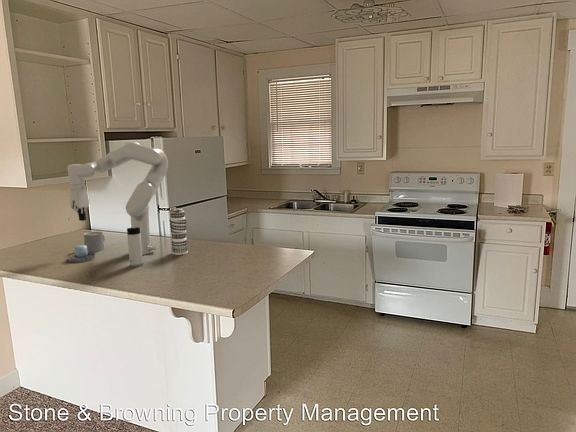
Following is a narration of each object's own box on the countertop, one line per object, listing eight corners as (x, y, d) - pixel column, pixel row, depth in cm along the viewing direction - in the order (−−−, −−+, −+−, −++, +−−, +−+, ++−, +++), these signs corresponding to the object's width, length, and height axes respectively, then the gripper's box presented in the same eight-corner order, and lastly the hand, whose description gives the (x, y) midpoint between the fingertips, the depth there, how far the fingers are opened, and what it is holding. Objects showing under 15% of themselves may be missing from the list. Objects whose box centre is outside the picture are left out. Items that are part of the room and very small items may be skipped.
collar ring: (100, 256, 239) (99, 252, 238) (84, 262, 226) (84, 259, 226) (79, 255, 241) (79, 251, 241) (63, 261, 229) (62, 258, 228)
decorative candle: (178, 256, 236) (175, 210, 231) (168, 253, 242) (165, 209, 237) (192, 252, 243) (189, 208, 238) (181, 249, 249) (178, 206, 244)
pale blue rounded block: (90, 257, 236) (89, 245, 235) (83, 260, 230) (81, 248, 229) (80, 257, 237) (79, 244, 236) (73, 260, 232) (72, 247, 230)
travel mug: (129, 267, 217) (126, 228, 213) (130, 264, 223) (127, 226, 219) (142, 266, 218) (139, 227, 215) (143, 262, 225) (140, 225, 221)
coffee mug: (93, 253, 245) (92, 235, 243) (81, 251, 249) (79, 234, 247) (112, 247, 257) (111, 230, 255) (100, 245, 261) (99, 229, 259)
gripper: (80, 185, 242) (85, 217, 245) (62, 189, 227) (67, 223, 231) (92, 185, 240) (97, 217, 244) (75, 188, 226) (80, 223, 230)
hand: (82, 220), depth 238 cm, fingers closed
